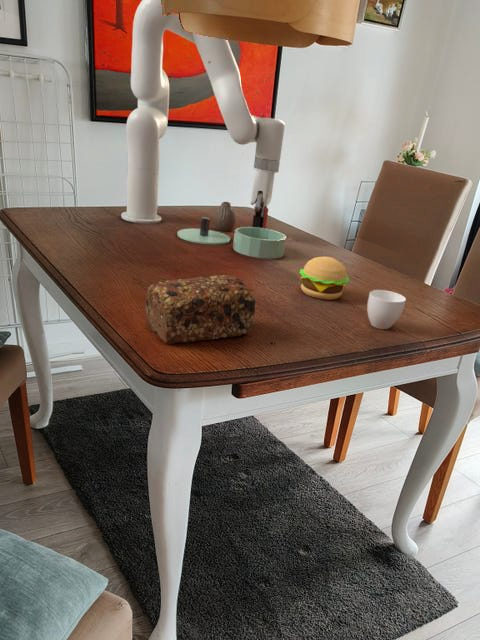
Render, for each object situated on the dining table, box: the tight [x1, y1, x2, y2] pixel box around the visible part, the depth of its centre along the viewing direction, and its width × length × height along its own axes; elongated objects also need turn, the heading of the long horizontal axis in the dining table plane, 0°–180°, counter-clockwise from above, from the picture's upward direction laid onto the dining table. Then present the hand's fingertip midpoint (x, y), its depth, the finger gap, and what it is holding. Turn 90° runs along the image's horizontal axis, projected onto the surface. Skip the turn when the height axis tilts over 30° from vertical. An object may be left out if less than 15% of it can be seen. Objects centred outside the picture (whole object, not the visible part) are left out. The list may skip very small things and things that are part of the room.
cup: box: [366, 289, 407, 330], centre depth 126 cm, size 8×10×7 cm
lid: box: [176, 216, 231, 246], centre depth 171 cm, size 16×16×6 cm
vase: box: [213, 201, 236, 233], centre depth 183 cm, size 7×7×9 cm
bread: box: [145, 274, 257, 345], centre depth 109 cm, size 19×11×10 cm, turn 119°
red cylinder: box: [251, 206, 269, 229], centre depth 181 cm, size 4×4×7 cm
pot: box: [232, 226, 288, 260], centre depth 166 cm, size 15×15×6 cm
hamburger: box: [299, 256, 350, 301], centre depth 139 cm, size 12×12×9 cm
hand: (258, 227), depth 182 cm, fingers closed on red cylinder, 4 cm apart
